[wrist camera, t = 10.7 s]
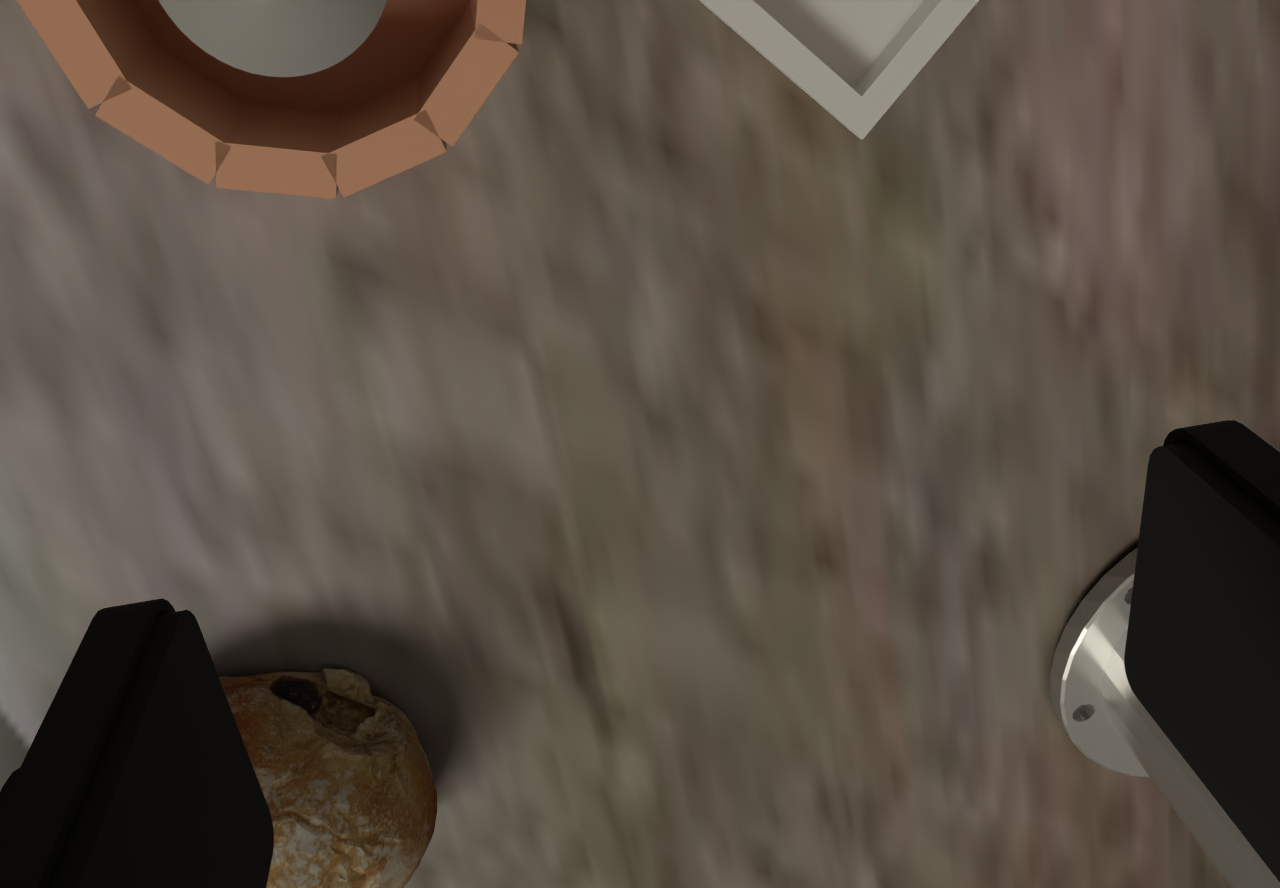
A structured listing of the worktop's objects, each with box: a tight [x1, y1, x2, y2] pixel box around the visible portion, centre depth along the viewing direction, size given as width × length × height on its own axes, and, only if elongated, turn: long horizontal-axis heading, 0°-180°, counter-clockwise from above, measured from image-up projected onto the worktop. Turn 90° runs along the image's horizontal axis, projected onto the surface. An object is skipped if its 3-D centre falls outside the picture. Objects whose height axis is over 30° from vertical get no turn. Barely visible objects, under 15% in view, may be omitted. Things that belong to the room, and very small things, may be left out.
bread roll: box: [219, 669, 437, 888], centre depth 37 cm, size 10×10×8 cm
